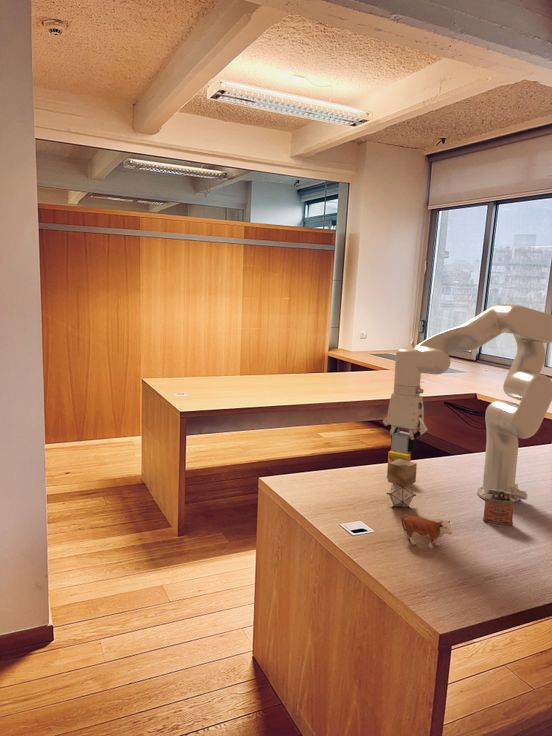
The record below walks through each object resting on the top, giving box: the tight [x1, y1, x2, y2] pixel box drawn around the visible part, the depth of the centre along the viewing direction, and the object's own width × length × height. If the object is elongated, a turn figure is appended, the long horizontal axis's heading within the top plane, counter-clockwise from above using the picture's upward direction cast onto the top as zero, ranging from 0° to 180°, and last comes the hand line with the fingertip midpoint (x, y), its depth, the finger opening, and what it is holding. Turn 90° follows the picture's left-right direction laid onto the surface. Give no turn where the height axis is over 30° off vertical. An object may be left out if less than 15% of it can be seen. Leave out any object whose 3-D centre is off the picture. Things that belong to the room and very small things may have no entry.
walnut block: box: [387, 459, 418, 487], centre depth 168 cm, size 6×6×6 cm
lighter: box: [482, 489, 516, 528], centre depth 158 cm, size 8×3×10 cm, turn 71°
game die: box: [386, 483, 417, 510], centre depth 169 cm, size 9×8×10 cm
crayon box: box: [386, 449, 412, 479], centre depth 192 cm, size 7×3×12 cm, turn 58°
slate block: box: [390, 430, 410, 454], centre depth 166 cm, size 5×5×5 cm
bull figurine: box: [401, 514, 454, 550], centre depth 144 cm, size 4×13×8 cm, turn 58°
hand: (403, 448), depth 166 cm, fingers closed on slate block, 4 cm apart
